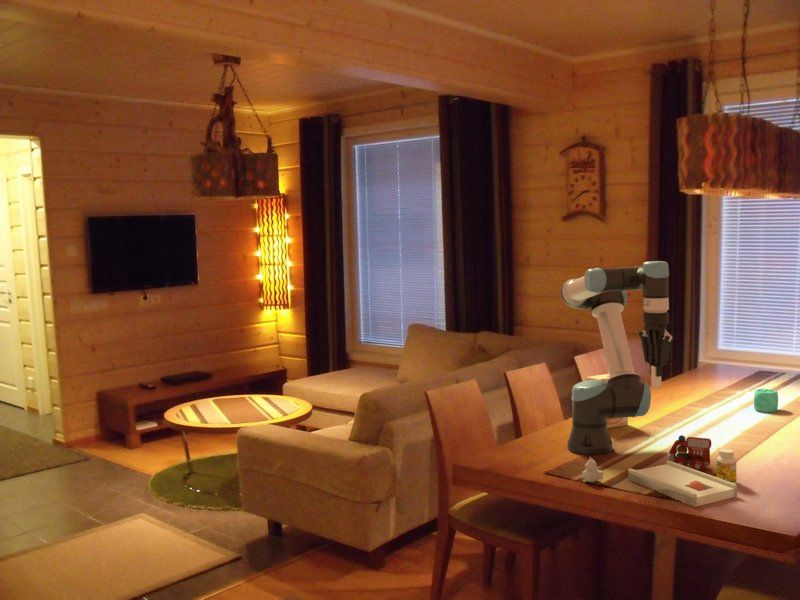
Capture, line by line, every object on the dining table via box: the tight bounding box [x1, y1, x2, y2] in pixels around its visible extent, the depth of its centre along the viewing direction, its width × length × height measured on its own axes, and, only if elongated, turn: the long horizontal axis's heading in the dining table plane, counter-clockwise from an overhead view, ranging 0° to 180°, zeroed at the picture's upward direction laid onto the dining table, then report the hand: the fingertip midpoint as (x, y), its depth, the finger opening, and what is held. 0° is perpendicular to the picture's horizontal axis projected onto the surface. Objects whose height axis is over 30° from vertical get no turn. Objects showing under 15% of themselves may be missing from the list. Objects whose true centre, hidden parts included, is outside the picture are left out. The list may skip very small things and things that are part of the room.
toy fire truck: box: [669, 434, 712, 472], centre depth 239 cm, size 7×12×10 cm, turn 57°
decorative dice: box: [753, 388, 779, 413], centre depth 308 cm, size 8×8×8 cm
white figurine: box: [581, 456, 605, 483], centre depth 230 cm, size 5×7×8 cm
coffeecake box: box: [585, 373, 629, 429], centre depth 293 cm, size 15×7×20 cm, turn 114°
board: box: [627, 459, 738, 508], centre depth 222 cm, size 26×16×4 cm, turn 25°
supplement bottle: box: [716, 448, 737, 484], centre depth 225 cm, size 5×5×10 cm
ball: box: [689, 481, 704, 491], centre depth 216 cm, size 4×4×4 cm
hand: (656, 386), depth 238 cm, fingers closed
